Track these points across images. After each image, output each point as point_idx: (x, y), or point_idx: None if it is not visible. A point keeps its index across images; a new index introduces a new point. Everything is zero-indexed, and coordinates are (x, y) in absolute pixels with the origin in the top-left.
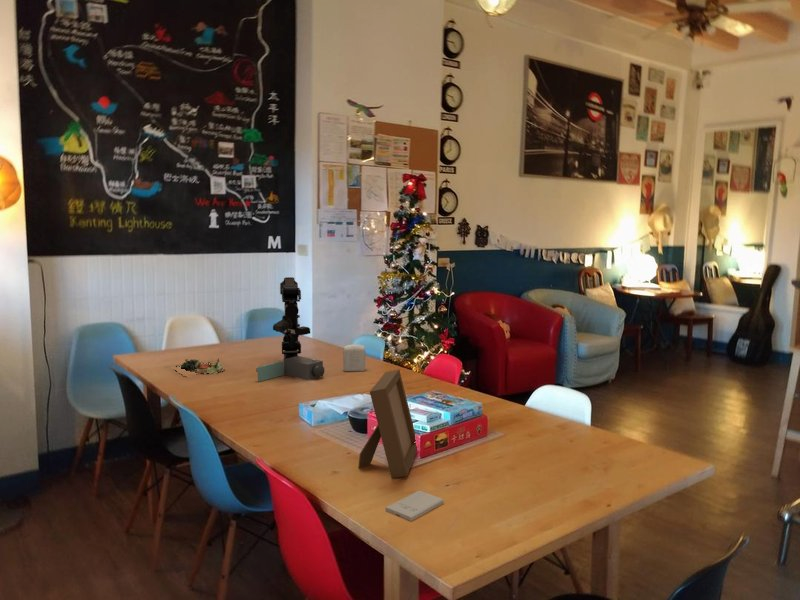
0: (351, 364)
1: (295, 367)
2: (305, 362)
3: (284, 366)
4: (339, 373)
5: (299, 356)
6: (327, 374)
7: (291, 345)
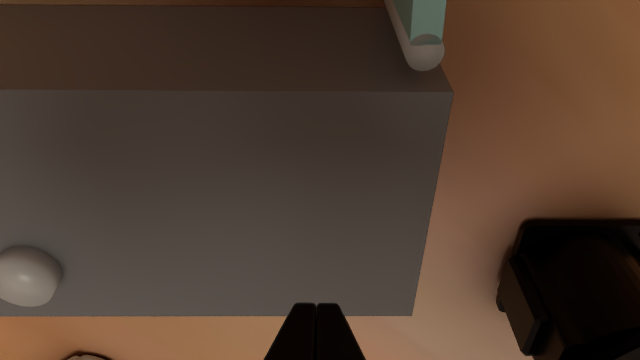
0: None
1: (166, 51)
2: (1, 154)
3: None
4: None
5: (378, 310)
6: None
7: (274, 344)
